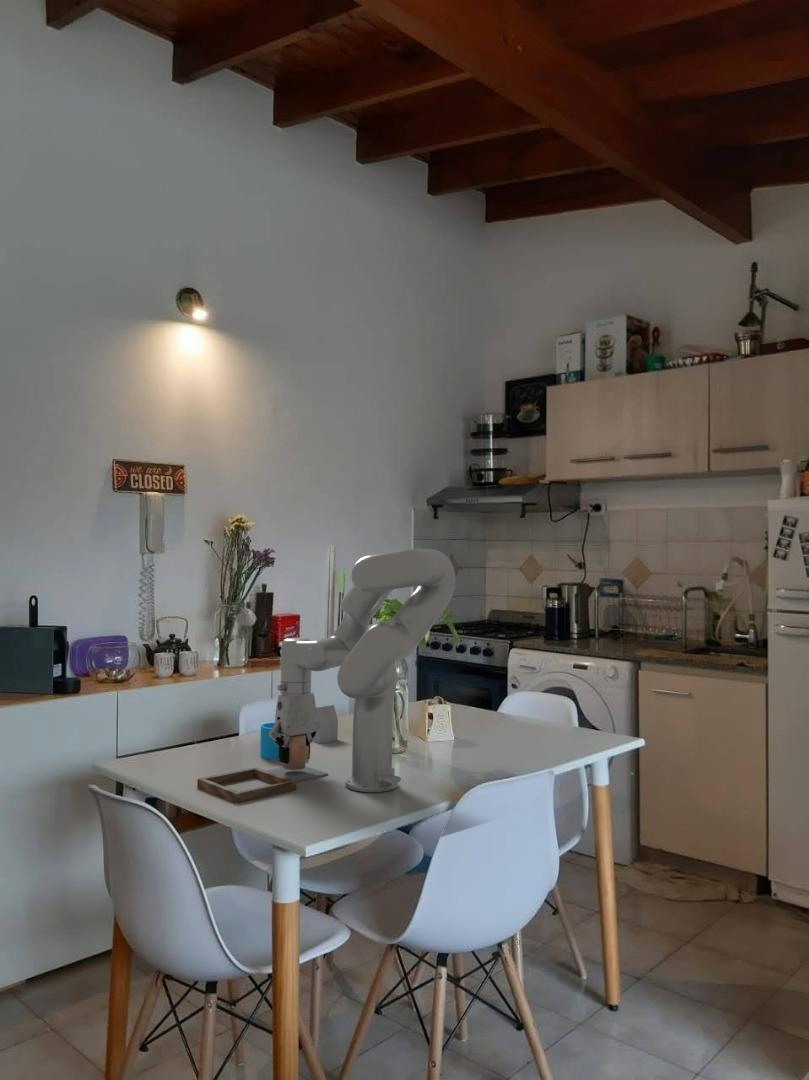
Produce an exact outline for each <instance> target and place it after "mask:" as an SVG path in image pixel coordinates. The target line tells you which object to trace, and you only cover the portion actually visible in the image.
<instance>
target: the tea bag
mask: <svg viewBox="0 0 809 1080" xmlns="http://www.w3.org/2000/svg"><path fill="white" fill-rule="evenodd" d="M335 707H336V706H335V704H331V705H324V706H316V715H317V722H318V723H319V725H320V729H319V730H318V732H317V733H316V735H315V736H314V738H313V739H312V740H313V741H312V743H313V742H315V743H317V744H324V743H329V742H335V741H338V733H339V732H338V731H339V730H338V729H339V719H338V716H337V711H336V709H335Z"/></svg>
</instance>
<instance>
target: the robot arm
mask: <svg viewBox="0 0 809 1080" xmlns="http://www.w3.org/2000/svg"><path fill="white" fill-rule="evenodd" d="M350 575H351V581H352V583H353V584H352V585H351V587H350V588H349V590H348V591H347V592H346V593H345V595H344V596H343V598H342V599H341V601H340V606H341V607H340V608H341V609H342V611H343V612H344V613H343V618H342V620H341V622H340V624H339V625H338V627H337V628H336V629H335V631H334V632H333V633H332V634H331V636H330V637H326V638H321V639H316V640H310V639H309V638H305V637H288V638H284V639H283V640H282V642H281V646H280V647H281V648H280V650H281V652H280V653H281V655H280V684H278V685H277V687H276V689H277V691H280V693H279V694H278V696H277V701H276V707H275V716H274V723H275V725H274V726H273V727H272V729H271V730H270V732H269V736H270V737H271V738H272V739H273V740H274V741H275V742H276V743H277V746H279V759H278V761H279V762H280V763H282V764H283V763H285V764H287V763H289V747H287V745H288V741H289V738H290V736H296V735H302V734H306V746H309V760H310V759H311V758H310V757H311V744H312V743H313V740H312V739H313V738H314V736H315V735H316V733H317V732H318V730H319V729H320V725H319V723H318V722H317V715H316V707H317V704H316V698H315V695H314V691H312V671H314V672H322V671H327V670H330V669H333V668H338V667H339V668H338V672H337V678H336V679H337V680H336V681H337V686H338V688H339V690H340V691H341V693H343V695H345V696H346V697H348V698H351V699H354V703H353V711H352V712H353V714H352V715H353V716H352V718H353V719H352V747H351V748H352V750H351V751H352V752H351V753H352V755H351V756H352V757H351V776H349V777H347V778H346V779H345V780H344V785H345V787H346V788H347V789H350V790H352V791H356V792H361V793H362V792H364V793H382V792H383V791H384V792H388V791H392V790H394V789H396V788H397V787H398V786H399V783H401V780H402V777H401V776H398V775H395V768H393V725H394V724H393V723H394V722H393V721H394V702H395V701H394V700H395V694H396V687H397V683H398V682H397V681H398V671H397V668H396V667H397V666H396V664H395V662H398V661H401V660H404V659H406V658H409V657H410V656H411V655H412V654H413V653H414V652H415V651H416V650H417V647H418V646H419V644H420V643H421V642H422V641H423V639H424V638H425V637H426V635H427V634H428V633H429V631H430V630H431V629H432V627H433V626H434V624H435V622H436V621H437V620H438V619H439V617H440V616H441V615H442V614H443V612H444V611H445V610H446V608H447V607H448V605H449V603H450V602H451V600H452V598H453V595H454V592H455V589H456V582H457V581H456V572H455V568H454V566H453V563H452V562H451V560H450V558H449V557H448V556H447V555H446V554H445V553H443V552H442V551H440V550H437V549H434V548H433V549H431V548H409V549H403V550H397V551H392V552H391V551H390V552H385V553H379V554H371V555H365V556H363V557H361V558H359V559H358V560H356V562H355V564H354V565H353V567H352V569H351V574H350ZM412 587H417V588H416V589H415V590H414V591H413V593H412V594H411V595H409V596H408V598H407V599H406V600H405V601H404V603H403V604H402V606H401V607H400V608H399V610H398V611H397V612H396V613H395V615H394V616H393V617H392V618H390V619H388V620H384V621H379V622H377V623H374V624H373V625H371V626H370V627H369V625H370V622H371V620H372V618H373V617H375V615H376V613H377V612H378V610H379V609H380V607H382V605H383V604H384V603H385V601H386V600H387V598H388V597H389V596H390V595H391V593H392V592H393V590H397V589H405V588H412ZM277 733H278V734H279V736H278V735H277ZM284 736H285V737H284ZM283 739H284V740H283Z"/></svg>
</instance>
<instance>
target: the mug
mask: <svg viewBox="0 0 809 1080" xmlns="http://www.w3.org/2000/svg"><path fill="white" fill-rule="evenodd" d="M274 725H275V722H267V723H263V724H261V725H260V744H259V745H260V749H259V753H260V754H259V755H260V757H261V758H262V759H265V760H279V746H277V743H276V742H275V741H274V740H273V739H272V738H271V737H270V736H269V732H270V730H271V729H272V727H273V726H274ZM277 735H278V736H279V734H278V733H277Z"/></svg>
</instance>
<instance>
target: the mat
mask: <svg viewBox="0 0 809 1080" xmlns="http://www.w3.org/2000/svg"><path fill="white" fill-rule="evenodd" d="M265 771H268V772H271V773H274V774H277V775H280V776H283V777H285V778H288V779H291V780H294V781H296V783H298V782H303V781H308V780H313V779H317V778H322V777H326V776H329V774H328V772H325V771H323V770H318V769H316V768H312V767H310V766H306V765H305V768H304V769H299V770H288V769H284V768H283V766H282V767H277V768H272V769H266V770H265Z"/></svg>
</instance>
